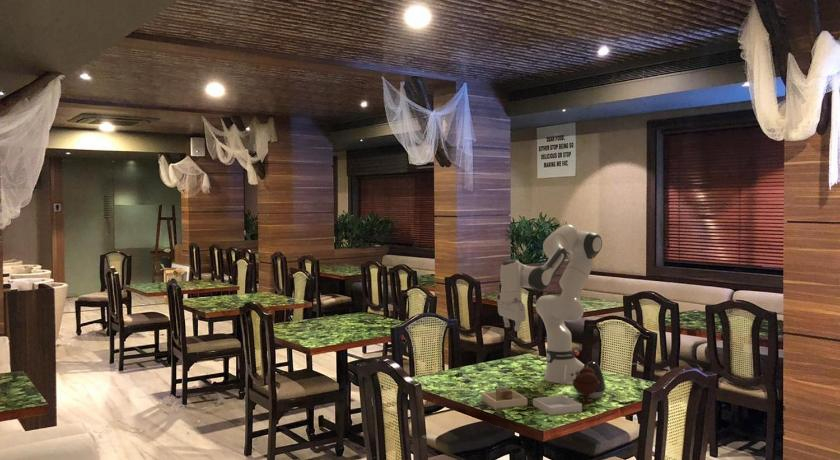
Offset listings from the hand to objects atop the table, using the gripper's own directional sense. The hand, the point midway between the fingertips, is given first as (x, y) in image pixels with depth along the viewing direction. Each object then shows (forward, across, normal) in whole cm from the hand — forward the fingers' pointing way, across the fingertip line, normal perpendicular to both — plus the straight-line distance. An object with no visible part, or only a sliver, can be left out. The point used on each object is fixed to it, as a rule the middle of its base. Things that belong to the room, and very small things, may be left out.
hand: (512, 328), depth 296 cm
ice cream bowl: (+28, -27, -19) cm, 44 cm away
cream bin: (+28, -15, +12) cm, 33 cm away
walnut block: (+27, -15, +12) cm, 33 cm away
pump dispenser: (+29, -19, -27) cm, 44 cm away
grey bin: (+28, -30, -4) cm, 41 cm away
